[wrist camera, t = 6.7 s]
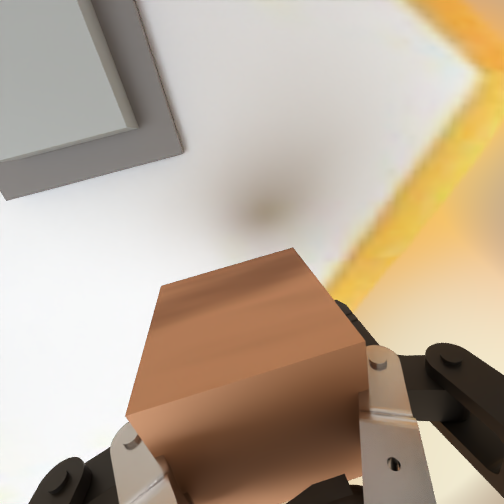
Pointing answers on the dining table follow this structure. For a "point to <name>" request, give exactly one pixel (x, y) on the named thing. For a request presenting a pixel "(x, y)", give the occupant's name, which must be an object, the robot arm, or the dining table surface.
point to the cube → (251, 383)
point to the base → (112, 148)
